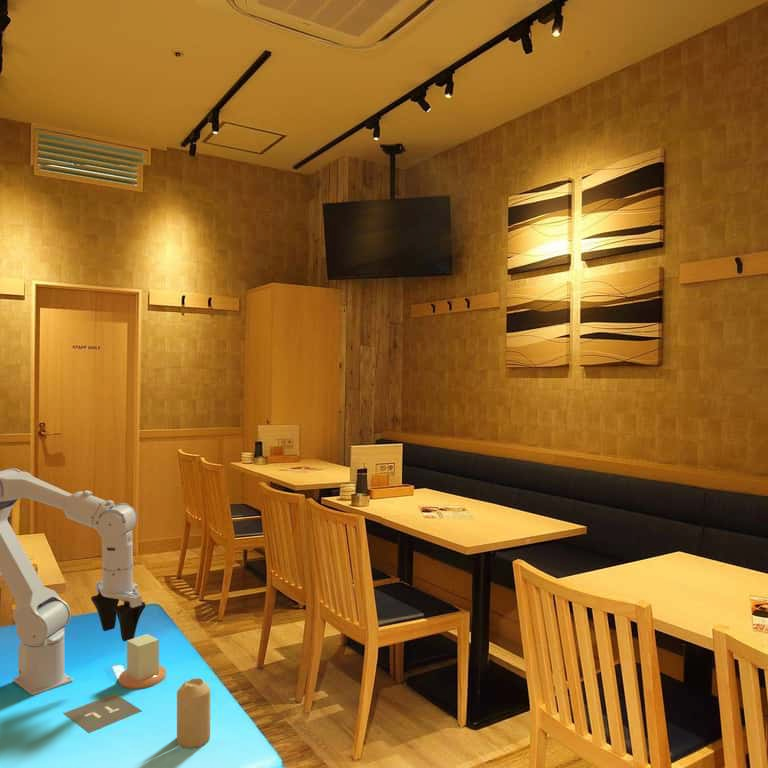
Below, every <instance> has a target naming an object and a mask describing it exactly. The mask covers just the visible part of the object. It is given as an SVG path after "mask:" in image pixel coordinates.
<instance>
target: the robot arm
mask: <svg viewBox="0 0 768 768" xmlns="http://www.w3.org/2000/svg"><path fill="white" fill-rule="evenodd" d="M23 498H24V499H29V500H33V501H36V502H39V503H41V504H45V505H46V506H51V507H53V508H57V509H60V510H62V511H63V513H64V515H65V518H67V519H68V520H70V521H74V522H77V523H79V524H81V525H85V526H86V527H89V528H92V529H94V530H96V532H97V533H98V535H99V536H100V538H101V566H102V567H101V568H102V569H101V579H102V580H99V581H95V593H97V594H96V595H92V596H91V598H90V599H91V600H90V601H92V603H93V605H94V606H95V608H96V611H97V613H98V617H99V621H100V623H101V629H102V630H103V632H107V631H111V630H113V629H114V630H115V627H116V621H117V620H118V622H119V628H120V629H119V631H120V637H121V640H122V641H123V642H127V640H130V639H133V638H135V635H136V631H137V627H138V624H139V620H140V617H141V615H142V613H143V611H144V610H145V608H146V602H144V601H143V600H142V595H141V594H140V593H138V591H137V589H139V584H138V583H136V582H134V552H133V551H134V541H133V538H134V537H133V532H134V531H133V529H134V528H135V527H136V525H137V522H138V513H137V511H136V509H135V508H134V507H132V506H131V505H129V504H128V503H127V502H121V503H117V504H115V502H114V501H113V500H111V499H109V500H106V499H102V498H100V497H97V496H94V495H93V492H92V491H90V490H88V489H87V490H85V491H81V490H80V491H76V492H74V493H70V492H68V491H65V490H63V489H62V488H60V487H57V486H55V485H53V484H50V483H48V482H46V481H43V480H42V479H39V478H37V477H35V476H34V475H32V474H31V473H30V472H27V471H24V470H23V471H22V470H20V469H18V468H14V467H10V468H6V469H3V470H0V575H1V577H2V579H3V581H4V582H5V584H6V586H7V588H8V590H9V592H10V593H11V596H12V598H13V599H14V601H15V602H16V603H15V606H14V609H13V612H12V619H13V620H14V622H15V626H16V628H15V629H16V634H17V637H18V640H20V643H19V646H18V648H17V659H18V660H17V666H18V667H17V671H18V672H17V674H18V675H17V676H16V677H14V678H13V679H12V680H13V682H14V683H15V684H16V685H17V686H19V687H21V688H22V689H23V690H24V691H26V692H27V693H28V694H29V695H31V696H35V695H39V694H41V693H44V692H47V691H49V690H53V689H55V688H57V687H61V686H64V685H66V684H69V683H72V682H73V681H74V679H73V678H72V677H70V676H69V675H67V674H66V673H65V632H66V630H65V629H66V626H67V625H68V624H69V622H70V621H71V617H72V611H71V608H70V605H69V604H68V603H67V602H66V601H65V600H63V599H62V598H60V596H59V595H58V593H57V591H56V590H53V589H52V588H49V587H46V586H45V585H44V584H43V582H42V580H41V577H39V575H38V573H37V570H36V569H35V567H34V566H33V564H32V561H31V560H30V558H29V557H28V555H27V553H26V551H25V549H24V548H23V546H22V544H21V543H20V541H19V539H18V536H17V534H16V533H15V531H14V530H13V528H12V525H11V523H10V522H9V520H8V518H9V516H10V514H11V511H12V508H13V507H14V506H15V505H16V503H17V502H18V501H19V500H20V499H23ZM120 601H121V602H123V604H120V605H119V602H120Z"/></svg>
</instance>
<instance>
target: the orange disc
mask: <svg viewBox="0 0 768 768" xmlns="http://www.w3.org/2000/svg"><path fill="white" fill-rule="evenodd" d="M166 676H167V669H166V668H165V666H162V665H160V664H159V674H156V675H154V676H151V677H148V678H146V679H143V680H140V681H137V680H136V679H134V678H132V677H131V676H129V675H127V669H125V670H124V671H122V672H121V673H120V675H119V677H118V678H119V679H118V681H119V682H118V683H119V685H120V686H121V687H124V688H127V689H132V690H133V689H136V690H137V689H144V688H151V687H153V686H155V685H158V684H160V683H161V682H163V681H164V680H165V679H166Z"/></svg>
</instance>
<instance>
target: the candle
mask: <svg viewBox="0 0 768 768" xmlns="http://www.w3.org/2000/svg"><path fill="white" fill-rule="evenodd" d="M210 737H211V687H210V685H209V684H208V683H207V682H205V681H204V680H203V679H202V678H191V679H190V680H185V681H184V683H183V684H182V685H180V687H179V688H178V690H177V691H176V741H177V744H178V745H179V746H180V747H182V748H184V749H185V748H186V749H193V748H198V747H201V746H204V745H205V744H207V743H208V742H209V740H210Z"/></svg>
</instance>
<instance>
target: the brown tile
mask: <svg viewBox="0 0 768 768" xmlns="http://www.w3.org/2000/svg"><path fill="white" fill-rule="evenodd" d="M141 712H143V710H142V709H140V708H139V707H137V706H135V704H133V703H131V702H129V701H128V700H126V699H125V698H123V697H122V696H121V695H119V694H117V693H112V694H110V695H107V696H105V697H102V698H99V699H96V700H94V701H92V702H89V703H87V704H84V705H82V706H78V707H76V708H73V709H70V710H68V711H65V712H63V713H62V714H63V715H65V716H66V717H67V718H68V719H70V720H71V721H73V722H74V723H75V724H77V726H79V727H80V728H82V729H83V730H84V731H86V733H88V734H91V733H93V732H95V731H98V730H101V729H102V728H105V727H107V726H110V725H112V724H115V723H117V722H119V721H121V720H124V719H126V718H129V717H131V716H133V715H136V714H139V713H141Z"/></svg>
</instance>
